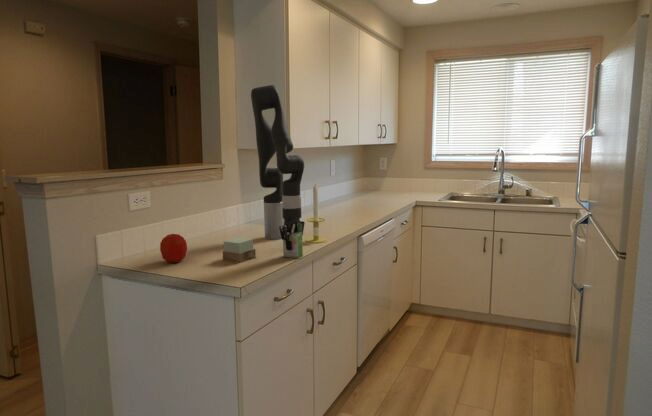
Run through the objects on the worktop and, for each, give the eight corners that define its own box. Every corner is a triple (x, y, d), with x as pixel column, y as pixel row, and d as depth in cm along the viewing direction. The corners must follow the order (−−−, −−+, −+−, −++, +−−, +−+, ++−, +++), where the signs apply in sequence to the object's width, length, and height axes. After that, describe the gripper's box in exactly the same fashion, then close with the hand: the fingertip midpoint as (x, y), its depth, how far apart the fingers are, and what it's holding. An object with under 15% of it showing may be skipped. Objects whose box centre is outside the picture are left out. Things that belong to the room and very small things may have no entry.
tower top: (237, 246, 187) (237, 237, 186) (253, 249, 183) (252, 239, 182) (224, 251, 180) (223, 241, 180) (239, 253, 176) (239, 243, 176)
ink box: (282, 256, 185) (282, 223, 183) (288, 254, 188) (287, 222, 186) (298, 258, 181) (297, 225, 180) (302, 256, 185) (302, 223, 183)
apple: (156, 261, 180) (154, 232, 178) (180, 257, 187) (178, 229, 185) (168, 266, 173) (166, 236, 171) (192, 261, 180) (191, 232, 178)
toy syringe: (312, 237, 220) (311, 181, 216) (331, 239, 215) (330, 182, 211) (301, 241, 212) (300, 183, 208) (319, 243, 207) (318, 184, 203)
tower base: (239, 255, 189) (238, 246, 188) (255, 258, 184) (255, 249, 183) (223, 260, 181) (222, 251, 181) (239, 264, 176) (239, 253, 176)
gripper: (295, 203, 190) (296, 244, 192) (272, 208, 178) (273, 251, 181) (310, 204, 186) (310, 246, 188) (287, 209, 174) (289, 253, 176)
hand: (292, 248), depth 184 cm, fingers closed on ink box, 4 cm apart
